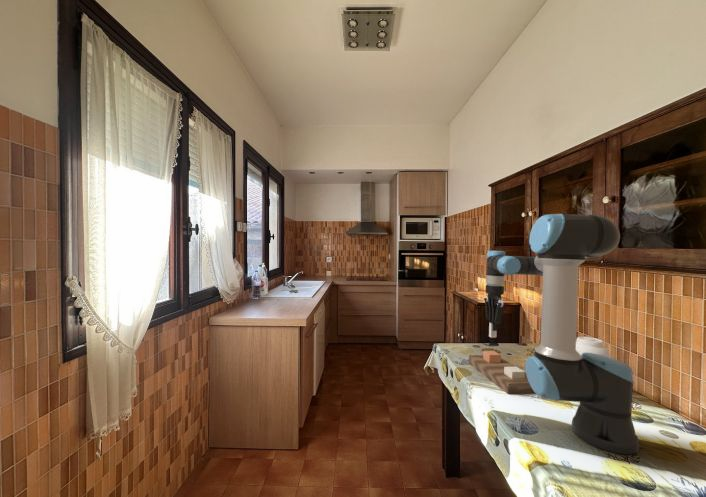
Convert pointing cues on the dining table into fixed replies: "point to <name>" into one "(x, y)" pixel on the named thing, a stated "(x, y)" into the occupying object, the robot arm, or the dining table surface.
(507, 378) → the wooden board
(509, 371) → the cream block
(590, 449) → the dining table surface
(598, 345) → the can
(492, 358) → the orange block
